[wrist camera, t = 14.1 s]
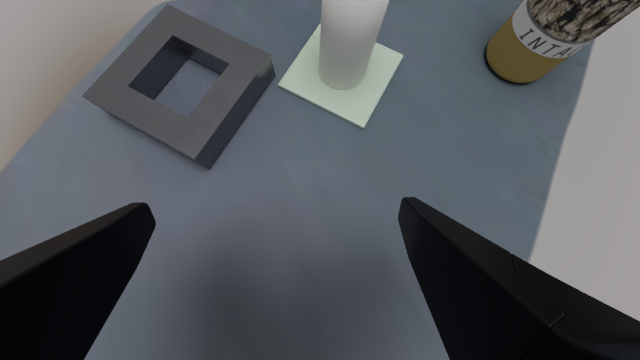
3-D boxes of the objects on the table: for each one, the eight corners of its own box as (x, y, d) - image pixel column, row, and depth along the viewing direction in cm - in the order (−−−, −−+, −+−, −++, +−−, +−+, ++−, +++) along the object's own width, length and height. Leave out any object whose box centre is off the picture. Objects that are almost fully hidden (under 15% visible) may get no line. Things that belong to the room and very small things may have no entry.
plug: (374, 75, 26) (441, -99, 13) (337, 98, 25) (367, -65, 12) (346, 43, 27) (382, -148, 14) (309, 63, 26) (309, -122, 13)
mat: (402, 57, 27) (403, 55, 26) (363, 129, 24) (364, 127, 24) (323, 21, 28) (323, 18, 27) (278, 86, 25) (277, 84, 25)
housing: (275, 75, 26) (270, 54, 23) (209, 169, 23) (194, 159, 20) (182, 29, 27) (167, 4, 24) (109, 113, 24) (81, 96, 21)
